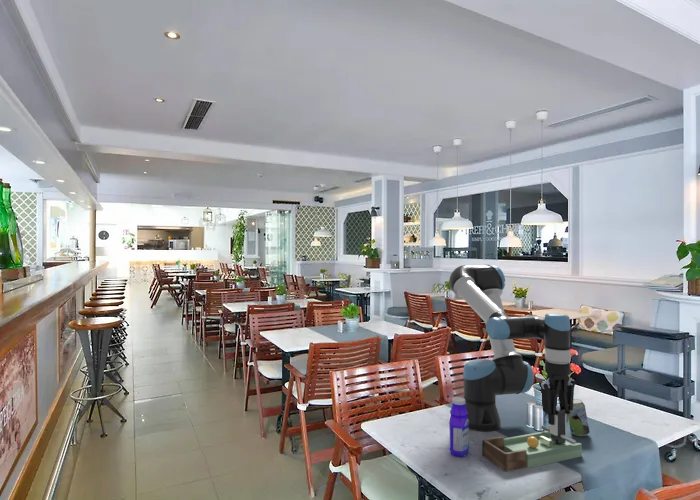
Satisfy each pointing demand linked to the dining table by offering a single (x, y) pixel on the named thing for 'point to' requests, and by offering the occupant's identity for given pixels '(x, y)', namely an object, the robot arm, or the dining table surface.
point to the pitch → (542, 449)
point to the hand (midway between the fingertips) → (558, 433)
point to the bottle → (459, 428)
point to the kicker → (561, 431)
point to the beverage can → (578, 419)
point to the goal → (503, 454)
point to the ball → (532, 442)
